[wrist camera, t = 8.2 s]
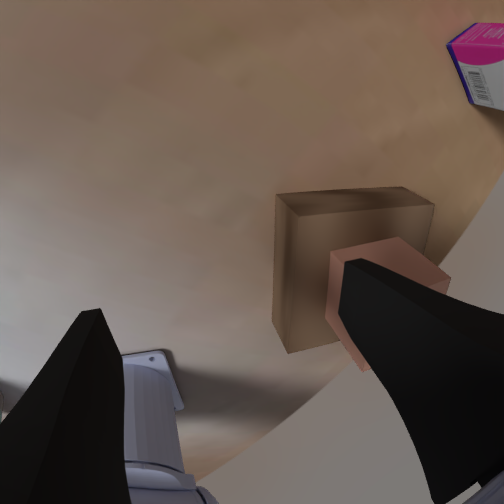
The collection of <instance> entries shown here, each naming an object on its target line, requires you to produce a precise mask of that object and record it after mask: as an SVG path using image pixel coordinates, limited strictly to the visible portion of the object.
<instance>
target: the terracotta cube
mask: <svg viewBox="0 0 504 504" xmlns="http://www.w3.org/2000/svg"><path fill="white" fill-rule="evenodd" d="M358 258H363V259H366V260H369V261H371V262H374V263H376V264H378V265H381V266H383V267H385V268H387V269H390V270H392V271H394V272H396V273H398V274H400V275H402V276H405V277H407V278H409V279H411V280H413V281H415V282H417V283H420V284H422V285H424V286H426V287H428V288H431V289H433V290H435V291H438V292H440V293H442V294H445V295H446V292H447V289H448V286H449V283H450V280H451V277H449V276H448V275H447V274H446V273H445V272H443V271H442V270H441V269H440V268H438V267H437V266H436V265H435V264H433V263H432V262H431V261H430V260H428V259H427V258H426V257H425V256H423V255H422V254H421V253H419V252H418V251H417V250H416V249H414V248H413V247H412V246H410V245H409V244H408V243H406V242H405V241H404V240H402V239H401V238H400V237H394V238H390V239H385V240H380V241H376V242H371V243H367V244H362V245H357V246H353V247H348V248H344V249H339V250H334V251H331V252H330V266H329V279H328V291H327V302H326V312H325V319H326V320H327V322H328V323H329V324H330V326H331V327H332V329H333V330H334V332H335V333H336V335H337V336H338V338H339V339H340V341H341V342H342V343H343V345H344V346H345V348H346V349H347V351H348V352H349V354H350V355H351V357H352V358H353V360H354V361H355V363H356V364H357V366H358V367H359V369H360V370H361V372H364V371H367V370H369V369H372V368H371V367H370V366H369V364H368V363H367V361H366V360H365V359H364V357H363V356H362V354H361V353H360V351H359V350H358V348H357V347H356V346H355V344H354V343H353V341H352V340H351V338H350V336H349V334H348V332H347V331H346V329H345V327H344V325H343V323H342V321H341V319H340V317H339V315H338V309H339V302H340V294H341V287H342V279H343V271H344V262H345V261H349V260H354V259H358Z"/></svg>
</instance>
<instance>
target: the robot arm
mask: <svg viewBox="0 0 504 504" xmlns="http://www.w3.org/2000/svg"><path fill="white" fill-rule="evenodd" d="M338 315H339V317H340V319H341V321H342V323H343V325H344V327H345V329H346V331H347V332H348V334H349V336H350V338H351V340H352V341H353V343H354V344H355V346H356V347H357V348H358V350H359V351H360V353H361V354H362V356H363V357H364V359H365V360H366V361H367V363H368V364H369V366H370V367H371V368H372V370H373V371H374V373H375V374H376V376H377V377H378V378H379V380H380V381H381V383H382V384H383V386H384V387H385V389H386V390H387V391H388V393H389V395H390V397H391V398H392V400H393V401H394V404H395V406H396V408H397V409H398V411H399V413H400V415H401V417H402V419H403V421H404V423H405V425H406V428H407V430H408V432H409V434H410V437H411V439H412V441H413V443H414V446H415V448H416V451H417V454H418V456H419V459H420V462H421V464H422V467H423V470H424V473H425V477H426V480H427V483H428V487H429V490H430V494H431V498H432V500H433V502H434V504H446V503H447V502H449V501H450V500H452V499H453V498H455V497H457V496H458V495H459V494H461V493H462V492H464V491H465V490H467V489H468V488H470V487H471V486H472V485H473V484H475V483H476V482H478V483H479V484H480V486H481V489H480V490H479V491H478V492H476V493H475V494H474V495H473V496H471V497H470V498H469V499H468V500H466V501H465V502H464V503H463V504H504V314H499V313H496V312H492V311H488V310H486V309H482V308H479V307H476V306H474V305H470V304H467V303H465V302H462V301H459V300H457V299H454V298H452V297H449V296H447V295H445V294H442V293H440V292H438V291H435V290H433V289H431V288H428V287H426V286H424V285H422V284H420V283H417V282H415V281H413V280H411V279H409V278H407V277H405V276H402V275H400V274H398V273H396V272H394V271H392V270H390V269H387V268H385V267H383V266H381V265H378V264H376V263H374V262H371V261H369V260H366V259H363V258H358V259H354V260H349V261H345V262H344V271H343V279H342V287H341V294H340V302H339V309H338ZM150 357H154V358H150ZM182 409H184V403H183V401H182V398H181V396H180V393H179V391H178V388H177V385H176V383H175V380H174V378H173V375H172V372H171V369H170V367H169V364H168V361H167V358H166V356H165V353H164V352H162V351H152V352H145V353H139V354H132V355H125V356H121V354H120V352H119V350H118V347H117V345H116V343H115V341H114V339H113V336H112V334H111V332H110V329H109V327H108V325H107V322H106V320H105V318H104V315H103V313H102V310H101V308H99V309H93V310H87V311H81V313H80V314H79V315H78V317H77V318H76V319H75V321H74V322H73V323H72V325H71V326H70V328H69V329H68V331H67V332H66V334H65V335H64V337H63V338H62V340H61V341H60V343H59V344H58V346H57V347H56V349H55V350H54V351H53V353H52V354H51V356H50V357H49V359H48V361H47V362H46V364H45V365H44V366H43V368H42V369H41V371H40V372H39V373H38V375H37V376H36V378H35V379H34V380H33V382H32V383H31V385H30V386H29V388H28V389H27V391H26V392H25V393H24V395H23V396H22V397H21V399H20V400H19V401H18V403H17V404H16V405H15V406H14V408H13V409H12V410H11V411H10V413H9V414H8V415H7V416H6V418H5V419H4V420H3V421H2V422H1V424H0V504H219V503H218V502H217V500H216V499H215V498H214V497H213V496H212V495H211V494H210V492H209V491H208V490H207V489H205V488H204V487H201V486H196V483H195V479H194V475H193V474H185V471H184V466H183V460H182V454H181V449H180V443H179V437H178V430H177V424H176V417H175V411H179V410H182Z"/></svg>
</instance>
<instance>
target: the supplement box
mask: <svg viewBox="0 0 504 504" xmlns="http://www.w3.org/2000/svg"><path fill="white" fill-rule="evenodd" d="M446 46H447V48H448V50H449V53H450V55H451V57H452V59H453V61H454V64H455V66H456V69H457V71H458V73H459V76H460V78H461V81H462V83H463V86H464V89H465V91H466V94H467V97H468V100H469V103H471V104H476V105H481V106H486V107H490V108H494V109H498V110H502V111H504V24H502V23H474V24H473V25H472V26H470V27H469V28H468V29H466V30H465V31H463V32H462V33H461V34H459V35H458V36H457V37H455V38H454V39H453V40H451V41H450V42H449V43H447V44H446Z"/></svg>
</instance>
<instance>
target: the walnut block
mask: <svg viewBox="0 0 504 504" xmlns="http://www.w3.org/2000/svg"><path fill="white" fill-rule="evenodd" d="M434 206H435V204H433V203H431V202H429V201H428V200H426V199H424V198H422V197H421V196H419V195H417V194H415V193H413V192H411V191H409V190H408V189H406V188H404V187H379V188H358V189H341V190H325V191H310V192H297V193H285V194H276V200H275V242H274V275H273V304H272V322H273V325H274V327H275V329H276V331H277V333H278V335H279V337H280V339H281V341H282V343H283V345H284V347H285V349H286V351H287V353H288V354H289V353H294V352H298V351H302V350H306V349H310V348H314V347H318V346H322V345H326V344H329V343H333V342H337V341H340V339H339V338H338V336H337V335H336V333H335V332H334V330H333V329H332V327H331V326H330V324H329V323H328V322H327V320H326V319H325V312H326V302H327V291H328V279H329V266H330V252H331V251H334V250H339V249H344V248H348V247H353V246H357V245H362V244H367V243H371V242H376V241H380V240H385V239H390V238H394V237H400V238H401V239H402V240H404V241H405V242H406V243H408V244H409V245H410V246H412V247H413V248H414V249H416V250H417V251H418V252H419V253H421V254H422V255H423V253H424V249H425V245H426V241H427V237H428V233H429V229H430V224H431V220H432V215H433V210H434Z"/></svg>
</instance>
